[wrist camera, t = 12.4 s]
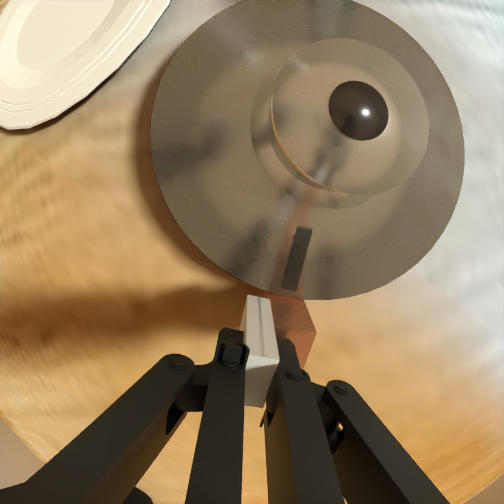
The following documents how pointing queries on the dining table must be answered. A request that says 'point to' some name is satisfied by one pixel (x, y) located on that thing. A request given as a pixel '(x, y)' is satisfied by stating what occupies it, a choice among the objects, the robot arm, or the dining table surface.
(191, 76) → the turntable
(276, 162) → the cover
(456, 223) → the dining table surface
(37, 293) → the dining table surface
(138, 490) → the coffee jar
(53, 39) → the plate
